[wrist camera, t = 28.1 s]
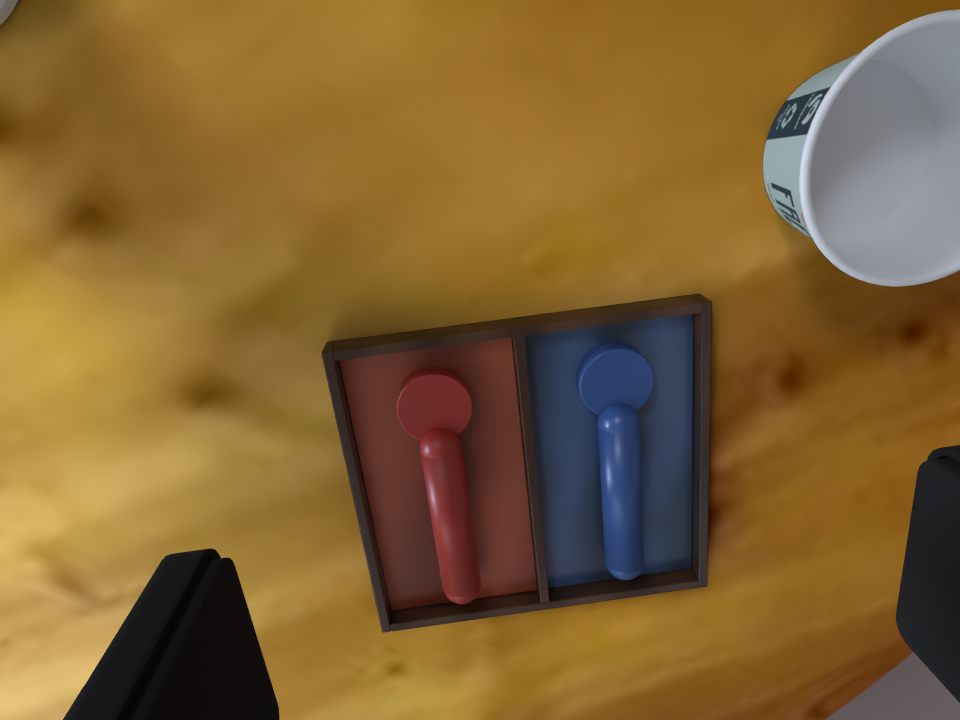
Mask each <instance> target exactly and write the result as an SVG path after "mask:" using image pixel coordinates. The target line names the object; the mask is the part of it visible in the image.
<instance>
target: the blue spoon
mask: <svg viewBox="0 0 960 720" xmlns="http://www.w3.org/2000/svg"><path fill="white" fill-rule="evenodd" d="M653 385H654V374H653V370H652V367H651V365H650V364H649V362H648V361H647V359H646V358H645V357H644V356H643V355H642V354H641V353H640V352H639V351H638V350H637V349H636V348H634V347H632V346H630V345H628V344H624V343H616V342H615V343H607V344H604V345H601V346H599V347H596V348H595V349H593V350H592V351H590V352H589V353H588V354H587V355H586V356H585V357H584V359H583V360H582V361H581V363H580V365H579V367H578V370H577V374H576V386H577V390H578V392H579V394H580V396H581V398H582V400H583V402H584V403H585V405H586V406H587V407H588V408H589V409H590V410H591V411H592V412H594V413H595V414H597V415H599V417H598V438H599V456H600V475H601V494H602V512H603V531H604V549H605V563H606V566H607V569H608V570H609V572H610V573H611V574H612V575H613V576H615V577H616V578H618V579H621V580H631V579H634V578H635V577H637V576H638V575H639V574H640V573H641V572H642V570H643V567H644V529H643V491H642V453H641V422H640V417H639V415H638V413H637V410H638V409H640V408H641V407H642V406H643V405H644V404H645V403H646V401H647V400H648V398H649V397H650V395H651V392H652V389H653Z"/></svg>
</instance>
